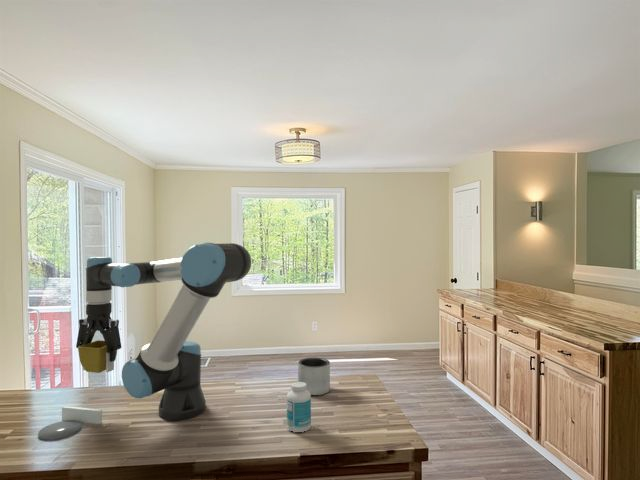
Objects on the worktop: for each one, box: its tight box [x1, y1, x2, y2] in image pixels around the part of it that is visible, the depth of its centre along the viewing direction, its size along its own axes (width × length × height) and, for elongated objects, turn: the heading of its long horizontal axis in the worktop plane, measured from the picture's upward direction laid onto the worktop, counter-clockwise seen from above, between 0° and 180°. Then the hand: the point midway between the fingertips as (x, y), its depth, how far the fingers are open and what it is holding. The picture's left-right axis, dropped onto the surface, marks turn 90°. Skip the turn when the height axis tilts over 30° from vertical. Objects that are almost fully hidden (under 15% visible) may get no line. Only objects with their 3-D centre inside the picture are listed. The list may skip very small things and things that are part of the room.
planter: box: [297, 357, 331, 397], centre depth 151 cm, size 13×13×11 cm
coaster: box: [37, 420, 83, 441], centre depth 118 cm, size 11×11×1 cm
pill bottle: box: [286, 381, 312, 433], centre depth 121 cm, size 8×7×14 cm
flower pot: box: [77, 339, 118, 374], centre depth 131 cm, size 9×9×9 cm
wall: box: [61, 405, 103, 425], centre depth 124 cm, size 14×1×4 cm, turn 79°
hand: (98, 369), depth 131 cm, fingers closed on flower pot, 8 cm apart
